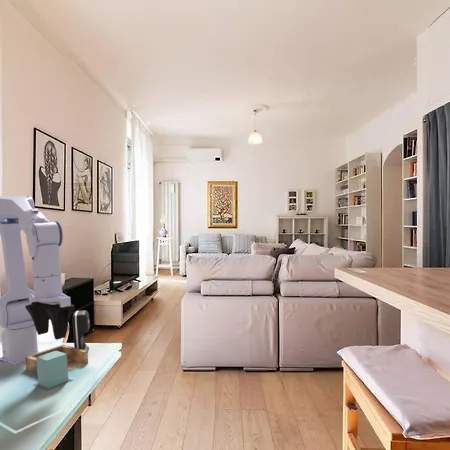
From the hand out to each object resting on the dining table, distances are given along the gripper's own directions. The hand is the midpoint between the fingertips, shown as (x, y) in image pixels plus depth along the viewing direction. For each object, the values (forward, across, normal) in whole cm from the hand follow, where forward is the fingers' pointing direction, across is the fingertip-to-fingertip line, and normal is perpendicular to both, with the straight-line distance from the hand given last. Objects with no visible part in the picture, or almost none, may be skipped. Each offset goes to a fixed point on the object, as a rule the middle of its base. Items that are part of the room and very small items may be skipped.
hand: (51, 335), depth 85 cm
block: (+10, +1, -1) cm, 10 cm away
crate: (+10, -8, +5) cm, 14 cm away
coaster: (+10, +2, -1) cm, 10 cm away
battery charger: (+11, -11, +14) cm, 21 cm away
